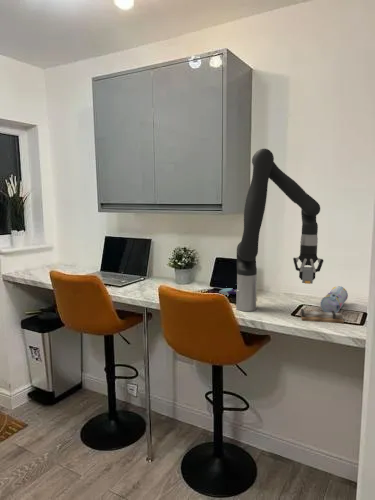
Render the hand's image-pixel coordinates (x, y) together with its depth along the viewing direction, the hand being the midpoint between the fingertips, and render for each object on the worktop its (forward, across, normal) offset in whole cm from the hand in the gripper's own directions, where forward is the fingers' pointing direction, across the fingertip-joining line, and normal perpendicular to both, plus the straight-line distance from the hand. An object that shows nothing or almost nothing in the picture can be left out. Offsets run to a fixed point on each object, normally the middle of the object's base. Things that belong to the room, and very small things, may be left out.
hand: (307, 279), depth 172 cm
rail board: (+15, +6, -12) cm, 20 cm away
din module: (+1, 0, 0) cm, 1 cm away
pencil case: (+15, +13, +4) cm, 20 cm away
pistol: (+16, -36, +20) cm, 44 cm away
